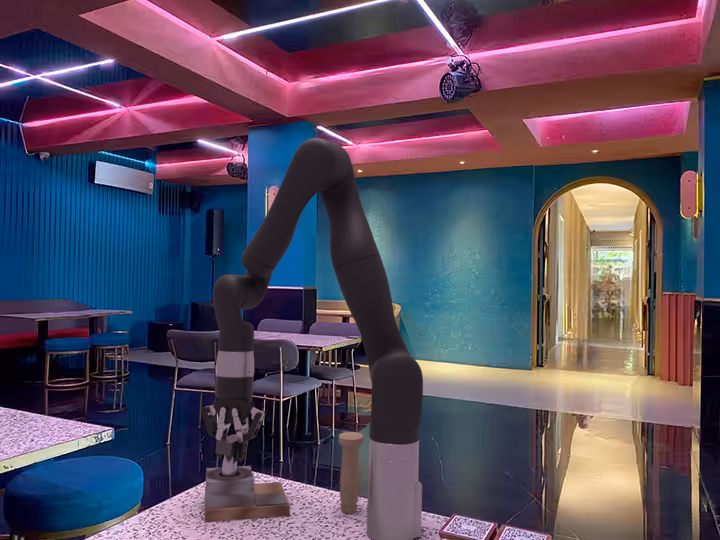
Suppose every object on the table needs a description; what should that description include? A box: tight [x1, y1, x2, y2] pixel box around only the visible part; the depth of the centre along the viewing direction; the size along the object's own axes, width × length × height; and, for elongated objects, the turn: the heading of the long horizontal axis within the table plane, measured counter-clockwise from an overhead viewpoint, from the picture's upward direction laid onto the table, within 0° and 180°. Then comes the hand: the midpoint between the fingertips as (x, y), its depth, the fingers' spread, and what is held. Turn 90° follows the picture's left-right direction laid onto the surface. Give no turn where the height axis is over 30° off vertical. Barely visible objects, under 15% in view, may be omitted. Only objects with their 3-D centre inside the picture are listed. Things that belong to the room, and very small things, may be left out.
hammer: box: [214, 434, 238, 477], centre depth 111 cm, size 7×3×11 cm, turn 165°
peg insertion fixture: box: [204, 465, 291, 523], centre depth 113 cm, size 16×14×7 cm
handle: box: [338, 431, 364, 514], centre depth 112 cm, size 5×6×15 cm
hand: (231, 458), depth 111 cm, fingers closed on hammer, 3 cm apart
